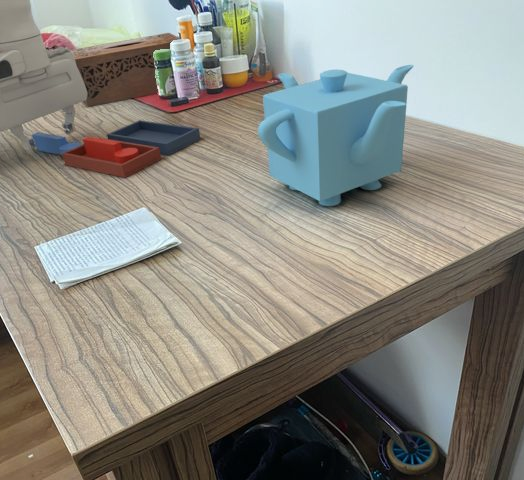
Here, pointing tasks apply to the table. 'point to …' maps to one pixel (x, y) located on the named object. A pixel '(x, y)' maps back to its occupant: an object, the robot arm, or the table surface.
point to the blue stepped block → (53, 143)
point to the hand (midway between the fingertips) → (51, 140)
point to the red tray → (81, 160)
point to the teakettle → (335, 132)
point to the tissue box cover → (120, 68)
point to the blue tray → (157, 135)
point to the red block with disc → (108, 150)
